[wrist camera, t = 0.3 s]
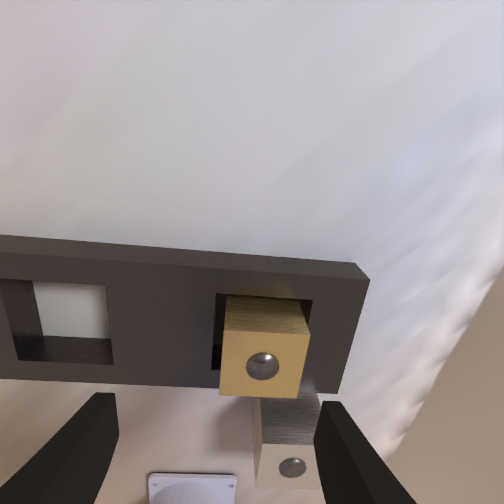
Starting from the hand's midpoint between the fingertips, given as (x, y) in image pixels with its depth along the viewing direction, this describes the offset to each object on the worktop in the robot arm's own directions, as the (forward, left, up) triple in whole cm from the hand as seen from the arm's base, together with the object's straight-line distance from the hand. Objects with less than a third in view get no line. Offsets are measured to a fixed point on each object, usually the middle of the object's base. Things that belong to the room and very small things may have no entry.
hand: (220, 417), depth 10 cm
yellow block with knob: (-2, -2, -10) cm, 10 cm away
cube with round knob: (-11, -5, -10) cm, 15 cm away
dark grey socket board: (-2, +4, -10) cm, 11 cm away
